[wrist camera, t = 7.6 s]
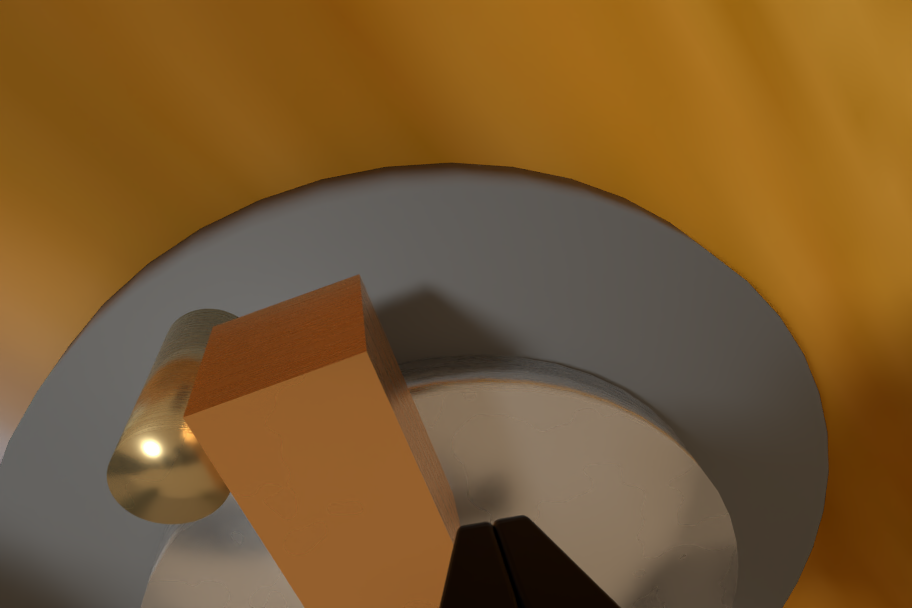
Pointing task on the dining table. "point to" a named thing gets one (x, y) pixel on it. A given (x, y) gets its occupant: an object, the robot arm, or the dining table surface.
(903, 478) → the dining table surface
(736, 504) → the base plate
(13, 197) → the dining table surface
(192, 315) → the dowel
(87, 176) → the dining table surface
